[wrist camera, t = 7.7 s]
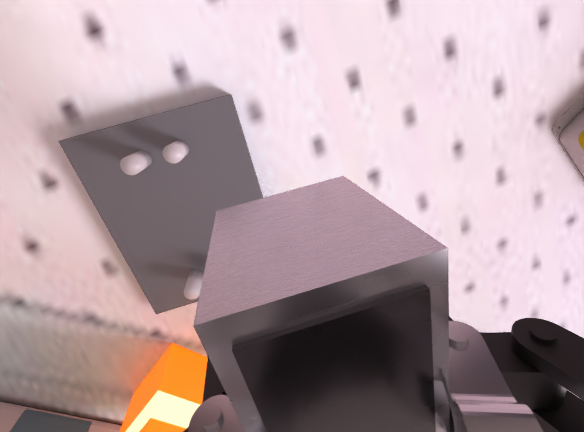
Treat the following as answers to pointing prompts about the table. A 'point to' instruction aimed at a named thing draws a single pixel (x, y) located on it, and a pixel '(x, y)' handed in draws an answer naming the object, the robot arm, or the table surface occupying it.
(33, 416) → the stereo radio cassette player
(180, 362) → the orange juice
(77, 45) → the table surface
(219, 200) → the pin tray
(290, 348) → the grey boxy piece
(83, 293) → the table surface
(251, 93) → the table surface
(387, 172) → the table surface
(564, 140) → the emergency button
